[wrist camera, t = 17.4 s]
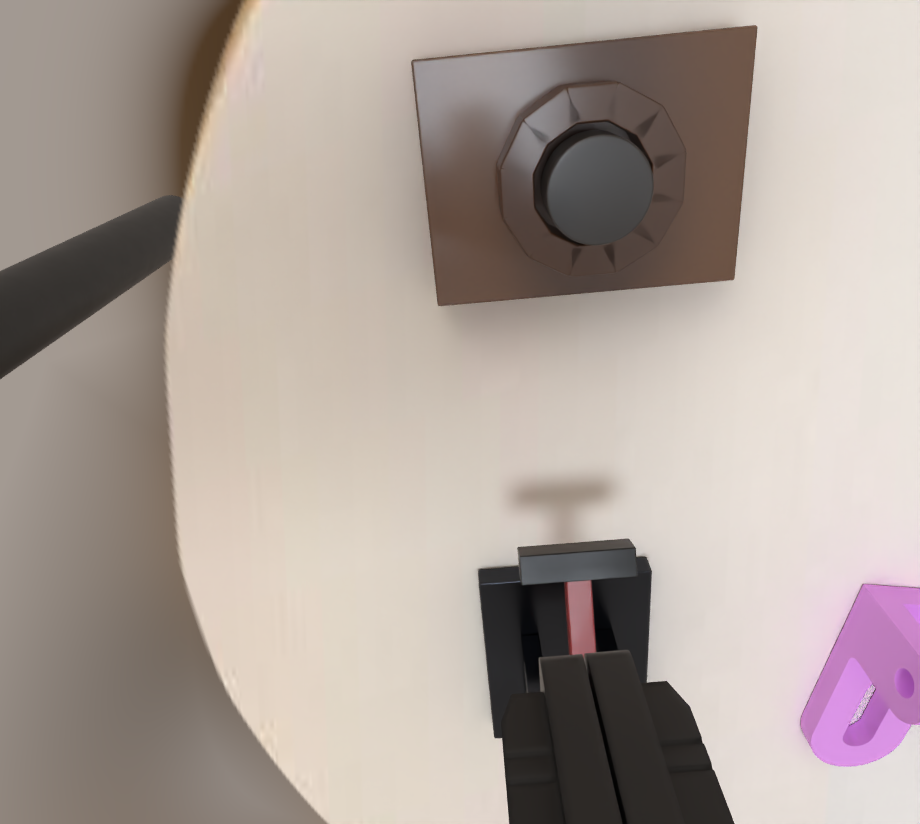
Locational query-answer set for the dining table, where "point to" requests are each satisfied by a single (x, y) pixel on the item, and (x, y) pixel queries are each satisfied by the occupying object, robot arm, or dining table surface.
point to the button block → (552, 122)
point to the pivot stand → (554, 627)
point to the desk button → (597, 187)
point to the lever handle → (578, 579)
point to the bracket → (868, 680)
